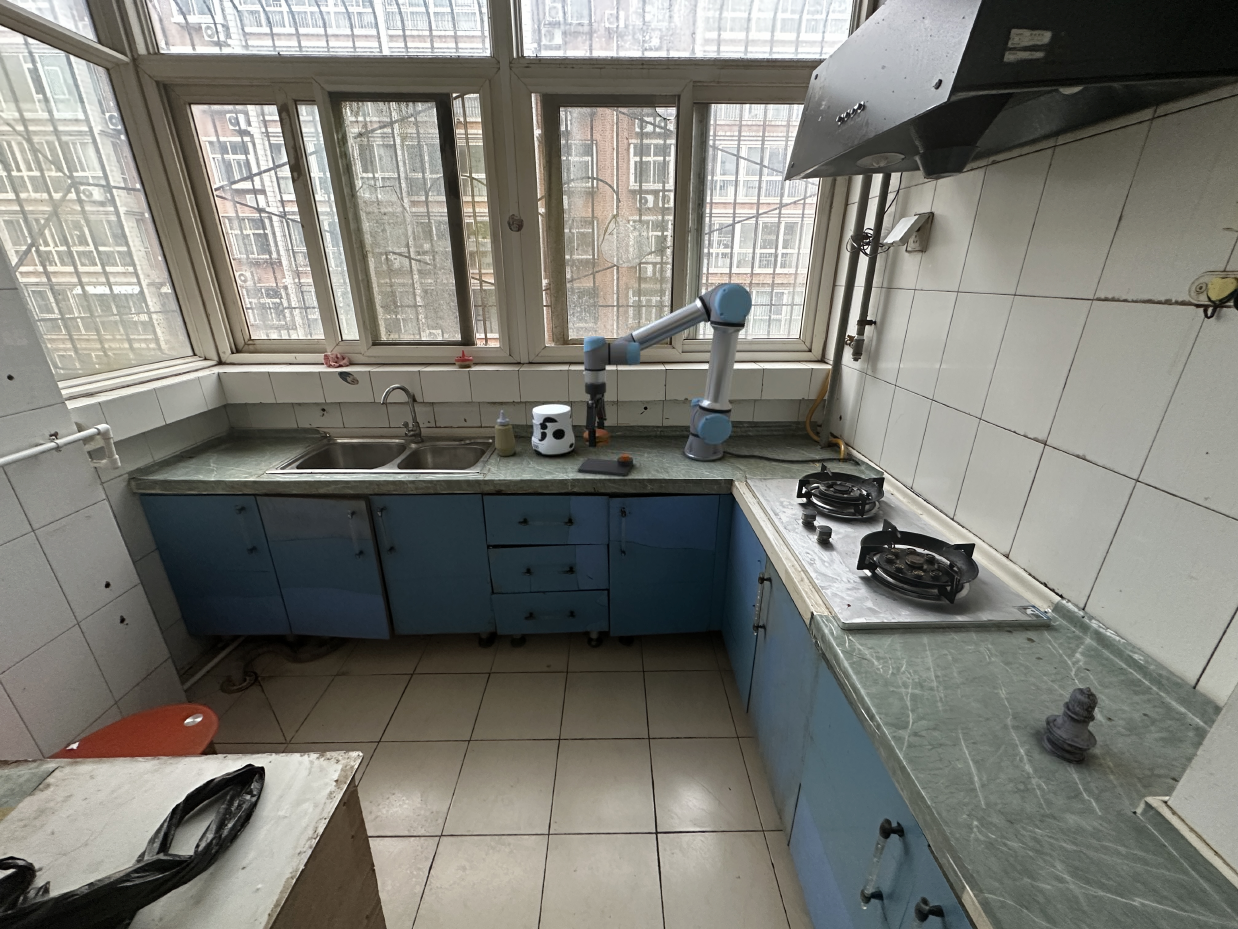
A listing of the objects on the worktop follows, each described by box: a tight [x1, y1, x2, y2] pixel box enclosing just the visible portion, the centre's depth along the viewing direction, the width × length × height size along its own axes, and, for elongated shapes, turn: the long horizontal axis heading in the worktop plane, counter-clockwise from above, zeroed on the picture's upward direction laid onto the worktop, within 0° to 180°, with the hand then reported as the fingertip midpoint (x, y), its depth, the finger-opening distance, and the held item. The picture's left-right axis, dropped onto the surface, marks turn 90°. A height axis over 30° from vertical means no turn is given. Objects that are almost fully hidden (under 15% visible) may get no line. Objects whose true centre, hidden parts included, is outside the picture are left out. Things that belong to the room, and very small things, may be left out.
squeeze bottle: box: [494, 410, 516, 457], centre depth 199 cm, size 8×8×18 cm
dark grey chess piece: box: [1040, 686, 1099, 765], centre depth 74 cm, size 6×6×12 cm
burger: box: [583, 428, 611, 447], centre depth 182 cm, size 10×9×5 cm
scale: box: [577, 456, 634, 477], centre depth 186 cm, size 18×12×3 cm
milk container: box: [531, 403, 576, 457], centre depth 201 cm, size 17×17×18 cm
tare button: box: [620, 453, 630, 461], centre depth 187 cm, size 3×3×2 cm
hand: (596, 442), depth 183 cm, fingers closed on burger, 10 cm apart
